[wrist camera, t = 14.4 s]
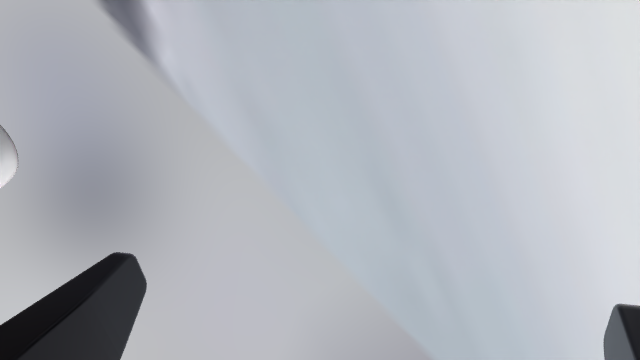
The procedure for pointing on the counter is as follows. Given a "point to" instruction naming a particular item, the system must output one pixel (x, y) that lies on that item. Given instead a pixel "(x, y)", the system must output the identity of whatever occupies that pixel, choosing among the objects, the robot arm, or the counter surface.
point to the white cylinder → (7, 158)
